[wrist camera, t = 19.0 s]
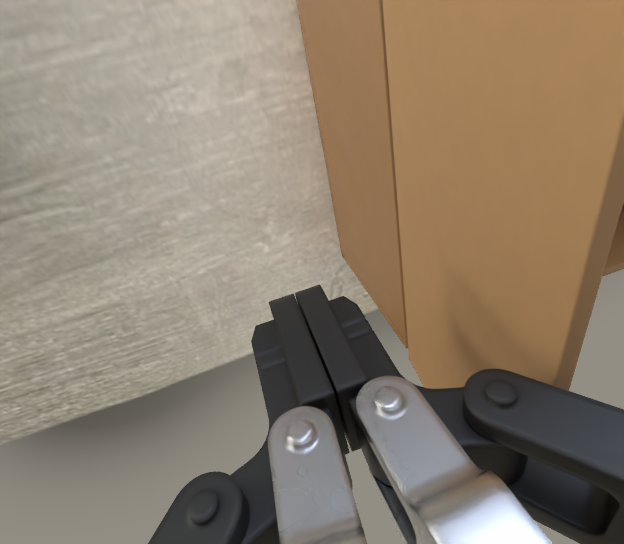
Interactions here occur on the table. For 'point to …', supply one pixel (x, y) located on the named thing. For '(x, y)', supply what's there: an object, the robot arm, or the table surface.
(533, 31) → the flap
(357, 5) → the carton
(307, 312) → the robot arm
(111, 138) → the table surface
